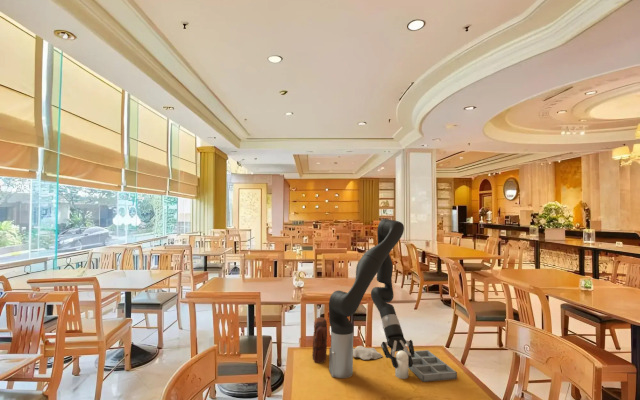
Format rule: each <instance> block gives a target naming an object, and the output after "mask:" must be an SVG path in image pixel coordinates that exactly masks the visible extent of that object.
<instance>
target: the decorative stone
mask: <svg viewBox="0 0 640 400" xmlns="http://www.w3.org/2000/svg"><path fill="white" fill-rule="evenodd" d="M381 357H382V358H383V355H382V354H381V352H378V351H377V349H376V348H375V347H364V346H363V345H357V346H356V347H355V348H354V347H353V358H357V359H361V360H363V361H369V360H378V359H382V358H381Z"/></svg>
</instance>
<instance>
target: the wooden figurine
mask: <svg viewBox="0 0 640 400" xmlns="http://www.w3.org/2000/svg"><path fill="white" fill-rule="evenodd" d="M313 323H314V324H313V335H312V336H313V337H312V360H313V362H314V363H316V364H317V363H324V362H326V360H327V349H328V348H327V347H328V344H327V343H328V341H327V340H328V324H327V320H326V318H325V317H321V316H320V317H316V318H315V320H314V322H313Z"/></svg>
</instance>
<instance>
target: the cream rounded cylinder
mask: <svg viewBox="0 0 640 400" xmlns="http://www.w3.org/2000/svg"><path fill="white" fill-rule="evenodd" d="M395 357H396V361H397V364H398V367H397V368H395V367H394V370H395V372H394V373H395V377H396V378H398V379H401V380H402V379H403V380H406V379H408V378H409V368H408V354H407V353H406V352H405V351H402V350H400V351H397V352H395Z"/></svg>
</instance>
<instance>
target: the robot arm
mask: <svg viewBox="0 0 640 400" xmlns="http://www.w3.org/2000/svg"><path fill="white" fill-rule="evenodd" d="M404 231H405V225H404V224H403V222H401V221H398V220H395V219H394V220H392V219H387V218H383V219H381V220H380V221H379V223H378V225H377V232H376V234H377V244H376V245H375V246H373V247H371V248H369V249H368V250H366V252H364V253H363V254H362V256H361V258H360V259H359V260H358V262H357V264H356V266H355V267H356V268H355V269H356V270H355V280H354V283H353V284H352V287H350V289H349V291H348V292H346V291H343V290H334V292H333V293H331V295H330V298H329V299H328V318H329V320H328V321H329V325H330V331H331V332H330V347H329V349H328V350H329V353H328V354H329V356H328V357H329V360H328V361H329V362H328V363H329V364H328V372H329V374H330V375H331V377H332V378H337V379H348V378H351V377H352V376H353V373H354V372H353V371H354V367H353V365H354V356H353V348H354V324H353V322H351V320H349V317H352V316H353V315H354V314H355V313H356V311H357V310H358V308H359V306H360V304H361V302H362V301H363V298H364V297H365V296H364V295H365V294H366V292H367V290H368V288H369V287H370V285H371V283H372V281H373V280H374V278H375V276H376V281H377V282H378V283H380V284H384V286H382V287H381V286H375V287H373V288H372V289H371V290H370V291H371V292H370V298H371V300H372V302H373V304H374V305H375V307H376V309H377V310H378V312H379V315H380V319H381V324H382V329H383V332H384V335H385V339H386V341H382V343H381V344H380V347H381V349H382V352H383V354H384V357H385V359H390V361H391V363H392V364H391V365H392V367H393V368H394V369H395V368H397V367H398V364H397V361H396V353H397V352H398V351H400V350H402V351H405V352H406V353H407V354H408V365H409V367H412V365H413V361H412V358H411V356H413V354H414V351H415V346H414V343H413V340H412V339H410V340H406V339H405V337H404V333H403V330H402V327H401V323H400V320H399V319H398V315H397V312H396V309H395V307H394V305H393V304H392V303H391V302H392V301H393V300H394V289H393V280H392V279H393V278H392V277H393V272H394V271H393V269H394V265H393V261H392V258H391V255H390V253H391V252H392V251H393V248H394V247H395V246H396V245H397V244H398V242H399V241H400V240H401V238H402V236H403V234H404ZM388 348H389V349H390V351H389V349H388Z"/></svg>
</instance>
